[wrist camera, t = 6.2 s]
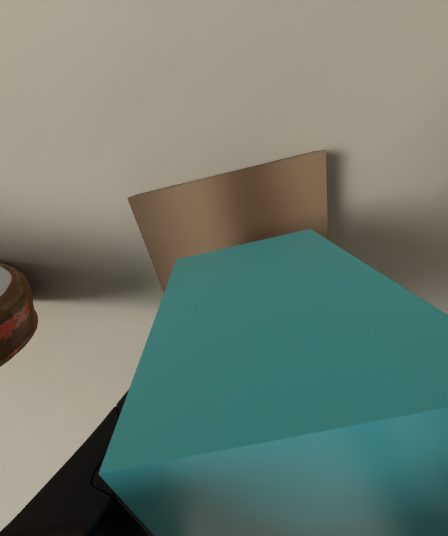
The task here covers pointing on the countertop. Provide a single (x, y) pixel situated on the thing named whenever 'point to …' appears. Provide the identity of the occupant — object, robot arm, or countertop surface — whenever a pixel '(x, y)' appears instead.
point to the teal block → (286, 400)
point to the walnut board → (233, 209)
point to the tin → (15, 312)
